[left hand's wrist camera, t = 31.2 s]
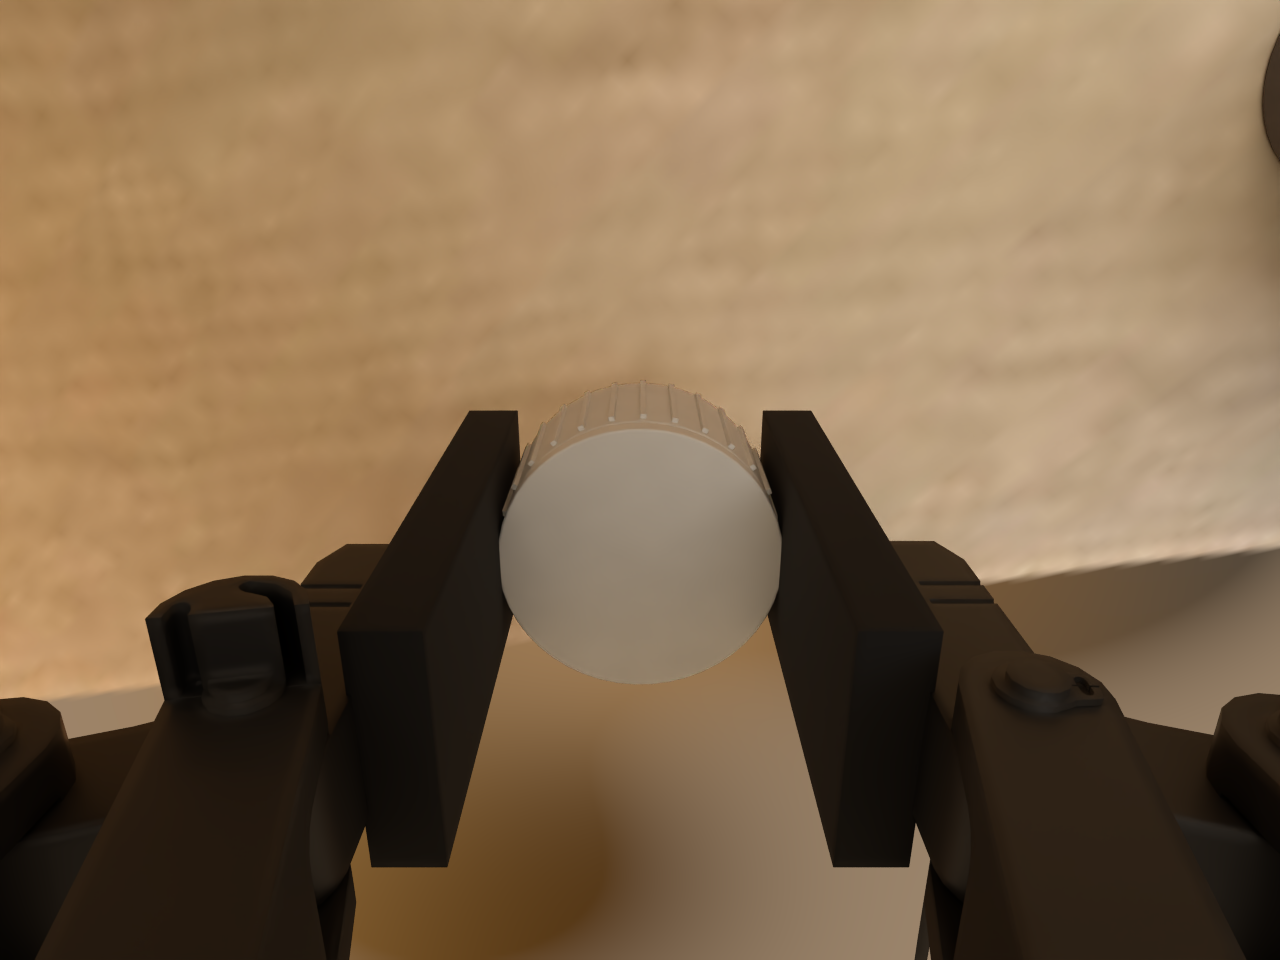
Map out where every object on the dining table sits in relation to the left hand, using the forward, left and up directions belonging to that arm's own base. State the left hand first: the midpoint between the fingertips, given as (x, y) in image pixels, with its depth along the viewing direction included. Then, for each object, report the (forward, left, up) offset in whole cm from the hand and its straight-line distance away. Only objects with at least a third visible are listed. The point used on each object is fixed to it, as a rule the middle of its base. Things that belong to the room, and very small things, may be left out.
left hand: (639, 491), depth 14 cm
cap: (0, 0, +2) cm, 2 cm away
